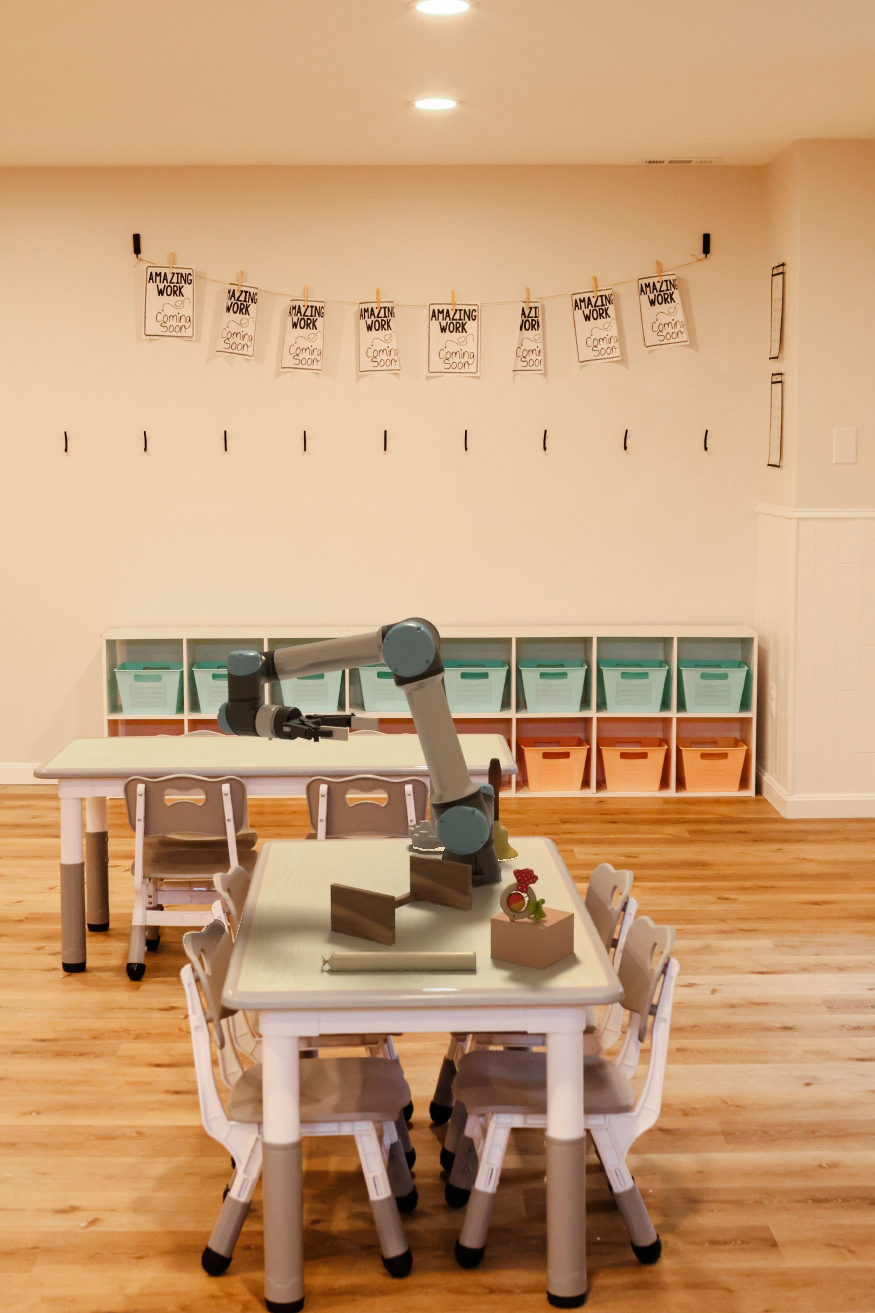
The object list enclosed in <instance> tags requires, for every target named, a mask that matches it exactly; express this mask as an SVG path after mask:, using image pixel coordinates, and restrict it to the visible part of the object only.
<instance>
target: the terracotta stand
mask: <svg viewBox="0 0 875 1313" xmlns="http://www.w3.org/2000/svg"><path fill="white" fill-rule="evenodd" d="M526 906H527V902H525V906H524V908H523V909H522V910H521V911H523V910H524V909H525V907H526ZM542 909H543V910H544V912H545V913H546V917H545V918H544V919H543V918H542V919H541V920H540V922H535V921H534V917H533V915H534V914H533V915H532V916H530V917H526V918H524V919H519V920H515V921H514V922H510V920H509V917H508V916H507V915H506V914H505V913H504V912H503V911H502V912H500V913H498V914H496V915H494V916H492V917H490V958H494V959H498V960H503V961H507V962H509V963H510V962H511V963H514V964H515V963H516V964H519V965H523V966H527V967H532V968H535V969H539V970H544V969H545V968H547V967H549V966H552V964H555V963H557V962H558V961H560V960H562V959H564V958H565V957H567V956H569V955H570V954H572V953H574V952H575V951H574V948H575V912H570V911H565V910H560V909H557V908H551V907H547V906H543V905H542ZM518 912H519V911H518Z"/></svg>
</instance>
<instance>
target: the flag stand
mask: <svg viewBox="0 0 875 1313" xmlns="http://www.w3.org/2000/svg"><path fill="white" fill-rule="evenodd" d="M434 793H435V790H434V787H433V784H432V780H431V777H430V776H429V820H428V819H427V820H426V819H425V820H419V825H417V824H416V822H412V823H409V824H408V827H407V835H408V838H410V839H411V846H412V845H413V846H414V847H418V848H422V849H435V848H438V847H444V846H443V845H442V844H441V842H440V841H439V838H438V835H437V829H436V828H437V820H436V817H435V813H434V810H433V807H432V803H431V799H432V797H433V795H434Z"/></svg>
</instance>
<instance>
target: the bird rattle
mask: <svg viewBox="0 0 875 1313" xmlns="http://www.w3.org/2000/svg"><path fill="white" fill-rule="evenodd" d="M512 874H513V876H514V878H515V880H516V882H513V883H510V884H508V885H506V886H505V888H504V889H503V890H501V891H502V892H501V894H500V896H499V897H500V898H499V904H500V908H501V910H502V912H504V913H505V914H506V915H507V916H508V917H509V920H510V922H514V921H515V920H519V919H524V918H526V917H530V916H532V915H533V914H534V915H533V917H534V921H535V922H540V920H541V919H542V918H543V919H544V918H545V917H546V913H545V912H544V910H543V909H542V906H543V905H544V904H546V899H545V898H539V899H538V898H537V894H536V893H535V891H534V889H533V888H532V887H531V886H530V885H534V884H536V883H537V881H538V880H539V876H538V875H536V874H535V871H534V869H531V868H529V867H525V868H521V869H519V868H518V869H517V868H516V869H514V870H513V872H512ZM523 894H524V895H525V894H526V896H524V895H523ZM526 898H528V899H527V901H526ZM525 903H527V906H526V907H525V909H524V910H523V911H521V910H522V909H523V908H524V906H525ZM518 911H519V912H518Z"/></svg>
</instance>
